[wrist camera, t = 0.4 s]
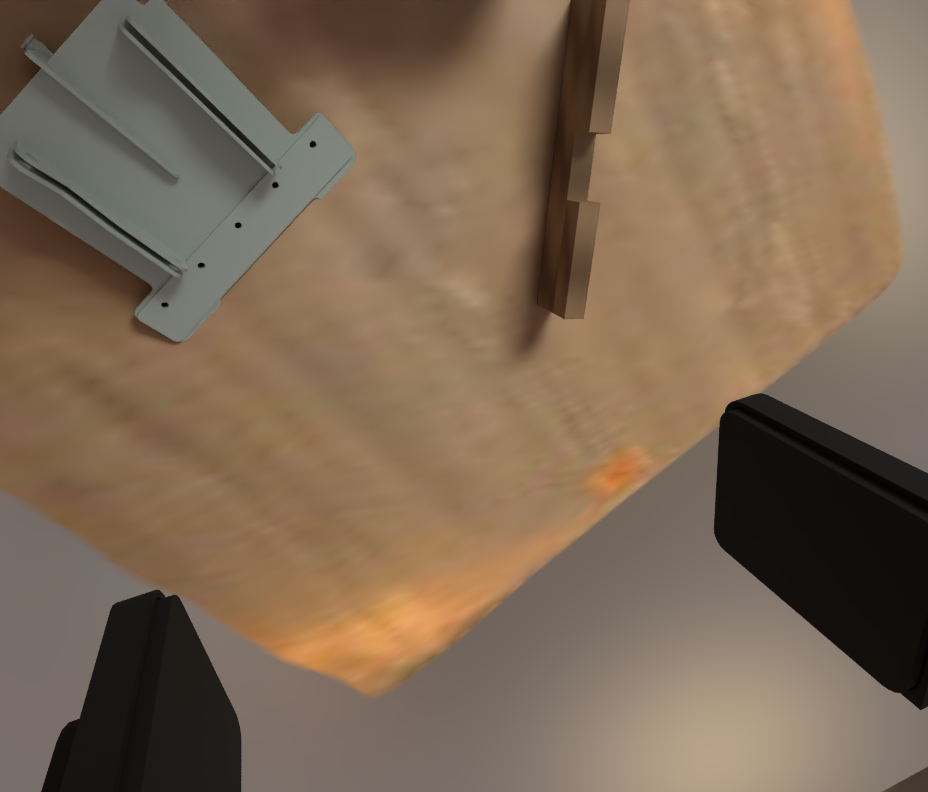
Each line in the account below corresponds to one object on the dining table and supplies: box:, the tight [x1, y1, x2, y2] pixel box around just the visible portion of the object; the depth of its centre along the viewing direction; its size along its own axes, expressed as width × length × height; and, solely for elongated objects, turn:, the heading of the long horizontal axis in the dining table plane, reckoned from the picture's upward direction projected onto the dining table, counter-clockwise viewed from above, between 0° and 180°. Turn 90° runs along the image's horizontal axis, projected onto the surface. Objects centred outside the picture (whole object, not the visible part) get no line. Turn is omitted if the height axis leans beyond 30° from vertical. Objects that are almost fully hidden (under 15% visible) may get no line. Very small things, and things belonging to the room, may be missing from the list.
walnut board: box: [537, 0, 630, 319], centre depth 36 cm, size 18×1×4 cm, turn 176°
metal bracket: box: [0, 0, 355, 342], centre depth 30 cm, size 14×6×15 cm
